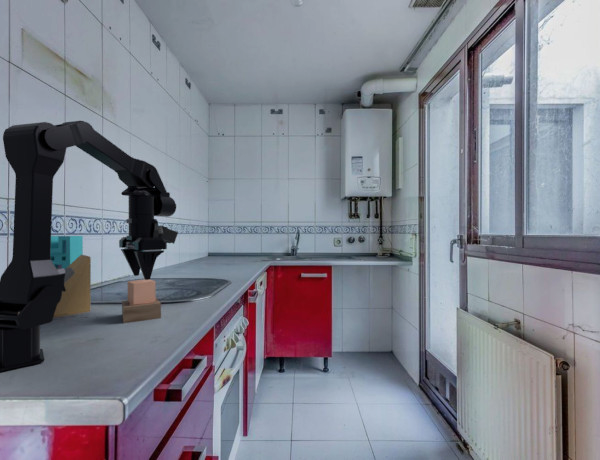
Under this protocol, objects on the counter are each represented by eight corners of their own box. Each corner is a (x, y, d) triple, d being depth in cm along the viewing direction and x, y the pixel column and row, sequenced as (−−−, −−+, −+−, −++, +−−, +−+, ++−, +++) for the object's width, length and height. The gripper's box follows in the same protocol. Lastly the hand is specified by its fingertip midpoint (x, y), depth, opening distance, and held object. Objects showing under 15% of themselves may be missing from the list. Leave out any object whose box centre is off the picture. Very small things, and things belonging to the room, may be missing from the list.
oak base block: (160, 319, 77) (160, 302, 77) (123, 324, 73) (123, 306, 73) (156, 312, 84) (156, 296, 84) (122, 316, 79) (122, 300, 79)
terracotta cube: (155, 301, 78) (155, 281, 78) (133, 304, 75) (133, 283, 75) (148, 298, 82) (148, 279, 82) (127, 301, 78) (127, 281, 78)
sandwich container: (8, 318, 78) (8, 258, 78) (81, 307, 89) (81, 254, 89) (13, 325, 72) (13, 260, 72) (90, 312, 84) (90, 255, 84)
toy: (39, 305, 90) (39, 236, 90) (56, 301, 96) (56, 236, 96) (70, 306, 89) (70, 236, 89) (85, 301, 95) (85, 235, 95)
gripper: (188, 214, 77) (188, 278, 77) (162, 217, 91) (162, 271, 91) (138, 213, 69) (139, 283, 69) (118, 216, 83) (118, 274, 83)
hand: (141, 277), depth 78 cm, fingers open, 9 cm apart
